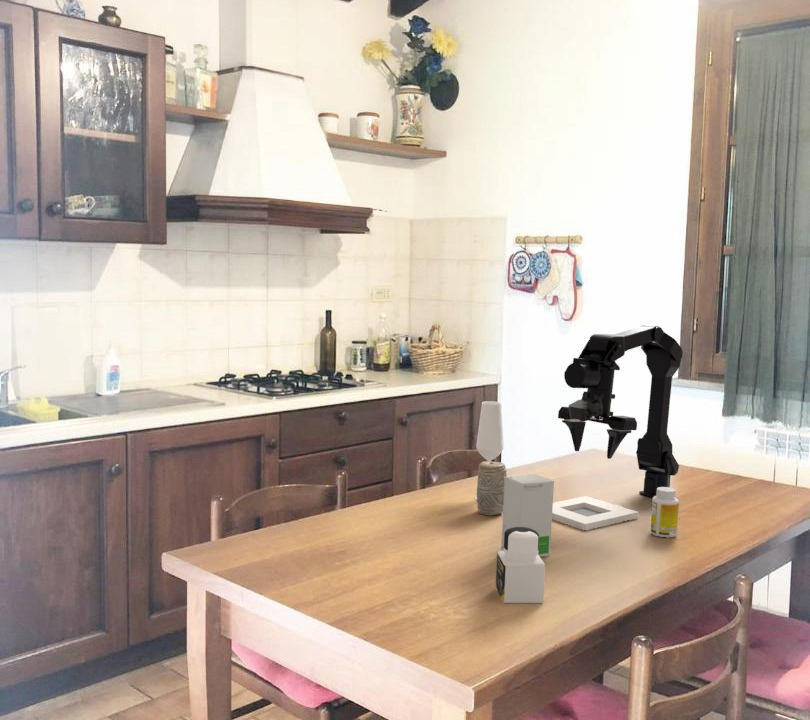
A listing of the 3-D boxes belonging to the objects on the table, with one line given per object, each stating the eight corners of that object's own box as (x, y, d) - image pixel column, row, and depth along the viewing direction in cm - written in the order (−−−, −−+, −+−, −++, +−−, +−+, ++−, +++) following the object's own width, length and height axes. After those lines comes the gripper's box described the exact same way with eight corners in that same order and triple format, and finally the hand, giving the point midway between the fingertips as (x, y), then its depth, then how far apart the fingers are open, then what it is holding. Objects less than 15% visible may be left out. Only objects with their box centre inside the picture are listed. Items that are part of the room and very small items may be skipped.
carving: (469, 513, 205) (471, 462, 203) (489, 507, 210) (491, 458, 209) (491, 519, 200) (493, 467, 199) (511, 513, 206) (513, 462, 204)
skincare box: (517, 561, 173) (521, 483, 171) (498, 551, 178) (502, 476, 177) (552, 555, 176) (555, 480, 175) (532, 545, 182) (536, 472, 181)
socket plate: (585, 502, 217) (586, 496, 217) (637, 518, 204) (638, 512, 204) (533, 512, 206) (533, 506, 206) (584, 530, 194) (585, 524, 193)
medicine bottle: (495, 588, 158) (497, 523, 157) (534, 588, 158) (537, 523, 157) (502, 604, 151) (505, 536, 149) (543, 603, 151) (547, 536, 150)
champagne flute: (505, 497, 219) (510, 402, 216) (493, 503, 213) (497, 406, 210) (481, 493, 222) (485, 399, 220) (469, 498, 217) (473, 402, 214)
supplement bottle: (681, 535, 192) (684, 490, 191) (666, 540, 189) (669, 493, 188) (659, 529, 196) (662, 484, 195) (645, 533, 193) (647, 488, 192)
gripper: (546, 383, 206) (539, 448, 207) (612, 393, 192) (605, 464, 193) (575, 383, 214) (569, 447, 215) (641, 394, 200) (634, 461, 201)
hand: (592, 454), depth 206 cm, fingers open, 9 cm apart
